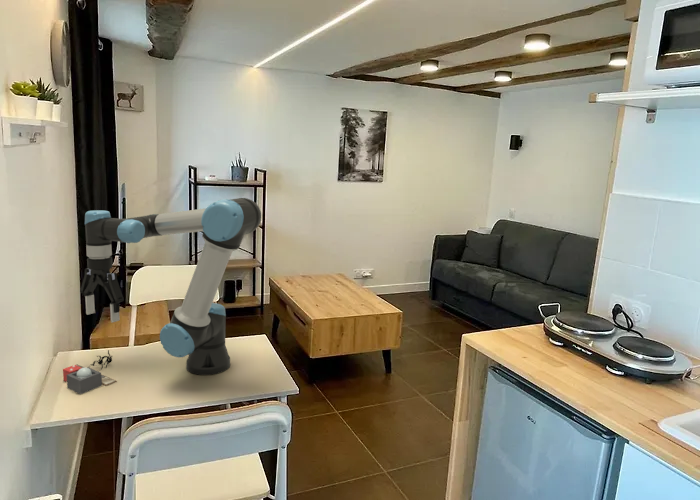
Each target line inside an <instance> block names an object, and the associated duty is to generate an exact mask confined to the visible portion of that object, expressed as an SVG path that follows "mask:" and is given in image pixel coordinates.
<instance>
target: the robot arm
mask: <svg viewBox="0 0 700 500" xmlns="http://www.w3.org/2000/svg"><path fill="white" fill-rule="evenodd" d="M261 221H262V211H261V209H260V206H259V205H258V204H257V203H256V202H255V201H254V200H253V199H250V198H247V197H236V198H232V199H231V198H230V199H227V198H226V199H220V200H217V201H215V202H212V203H210V204H209V205H207V207H206V208H199V209H197V208H196V209H191V210H190V209H189V210H181V211H172V212H165V213H164V212H163V213H160V214H159V213H155V214H154V213H153V214H148V215H142V216H133V217H127V218H118V217H117V218H116V217H112V216H111V213H110V211H108V210H99V209H98V210H97V209H96V210H95V209H94V210H88V211H86V212H85V214H84V226H85V227H84V229H85V241H86V242H85V243H86V244H85V245H86V246H85V247H86V257H87V259H86V261H87V262H86V264H87V265H86V268H84V277H83V280H82V282H81V287H80V291H79V292H80V294H83V296H84V301H85V314H86V315H87V316H88V315H91V314H96V309H95V307H96V306H95V293H94V291H95V290H96V289H97V285H99V286H101V287H102V288H104V290H105V292H106V294H107V296H108V298H109V300H110V301H111V302H110V303H109V309H110V323H116V322H118V321H120V319H121V317H120V311H121V310H120V308H121V307H120V303H121V302H124V301H125V299H124V298H125V297H124V295H123V292H122V290H121V287H120V283H119V281H118V276H117V272H113V273H111V271H110V269H112V268H113V257H112V255H113V251H112V247H113V246H112V242H120V243H126V244H137V243H140V242H141V240H143V239H146V238H151V237H159V236H167V235H168V236H169V235H177V234H179V235H180V234H188V233H198V232H199V233H200V232H202V234H201V236H202V239H203V240H204V244H203V248H202V250H201V253H200V256H199V258H198V261H197V263H196V266H195V269H194V272H193V274H192V277H191V280H190V283H189V285H188V287H187V290H186V292H185V295H184V298H183V301H182V304H181V305H180V306H178V307H176V308H175V309H174V312H173V315H172V317H171V320H170V322H169V323H166V324H165V325H164V326H162V328H161V330H160V332H159V341H160V344H161V345H162V348H163V349H164V351H165V352H166V353H167V354H169V355H170V356H172V357H175V358H184V357H186V356H187V358H186V363H185V365H186V367H185V368H186V370H187V371H188V372H189V373H191V374H195V375H200V376H201V375H203V376H206V375H207V376H208V375H209V376H210V375H215V374H216V375H217V374H220V373H222V372H224V371H227V370H228V369H229V368H230V367H231V357H230V355H229V352H228V349H227V347H226V317H227V314H226V308H225V306H224V305H222V304H221V303H216V302H215V303H214V300H215V297H216V295H217V292H218V290H219V287H220V285H221V281H222V279H223V276H224V274H225V271H226V268H227V267H228V266H227V265H228V264H229V261H230V258H231V256H232V253H233V252H235V251H237V250H239V249H240V247H241V244H242V241H243V239H244V236H245V235H248V234H251V233H252V232H254V231H256V230H257V229H258V227H259V226H260V224H261Z"/></svg>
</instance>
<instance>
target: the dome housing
mask: <svg viewBox="0 0 700 500" xmlns="http://www.w3.org/2000/svg"><path fill="white" fill-rule="evenodd" d="M89 367H90V366H87V367H86V368H89ZM89 369H90V370H91V372H92V375H90V376H87V377H84V378H82V379H81V378H78V377H77V372H78V371H76V372H73V373H70V374H68V375H67V382H66V386H67V387H66V388H67V389H68V390H70V391H72V392H74V393H77V394H79V395H83V394H85V393H88V392H90V391H93V390H95V389H98V388H100V387H102V386H103V385H102V377H101V374H102V372H100V371H99V370H95V369H93V368H91V367H90V368H89ZM98 371H99V372H98Z"/></svg>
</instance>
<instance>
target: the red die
mask: <svg viewBox="0 0 700 500" xmlns="http://www.w3.org/2000/svg"><path fill="white" fill-rule="evenodd" d="M79 369H81V367H79V366H77V365H76V364H74V365H71V366H67V367H65V368H62V374H63V376H62V377H63V382H66V383H67V375H68V374H70V373H73V372H76V371H78V370H79Z"/></svg>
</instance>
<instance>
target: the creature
mask: <svg viewBox="0 0 700 500" xmlns="http://www.w3.org/2000/svg"><path fill="white" fill-rule="evenodd" d="M107 354H108V355H103V356H101V355H96V357H97V358H98V360H94V361H93V363H91V364H90V366H88V367H89V368H91V367H94V366H97V367H98V366H101V368H100V369H98V370H97V371H98V372H100V371H101V370H102V369H104V366H105V369H107V368H108V365H109V364H110V363H111V362H112V361H113V355H111V354H110V350H109V349H108V350H107ZM105 358H106V360H105V362H104V359H105ZM96 363H97V364H98V365H96Z"/></svg>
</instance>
